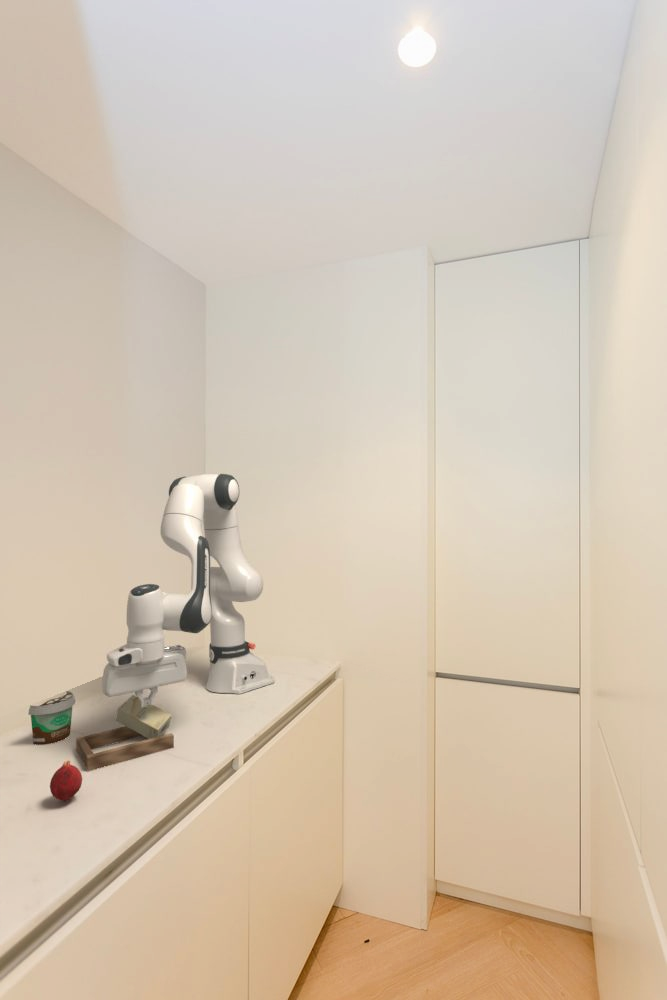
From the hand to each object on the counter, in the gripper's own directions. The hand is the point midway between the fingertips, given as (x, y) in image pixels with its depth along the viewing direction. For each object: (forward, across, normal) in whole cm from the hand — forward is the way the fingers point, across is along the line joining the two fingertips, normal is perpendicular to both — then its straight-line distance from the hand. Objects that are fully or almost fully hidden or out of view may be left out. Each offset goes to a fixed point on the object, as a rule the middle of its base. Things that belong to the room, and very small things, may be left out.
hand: (146, 706), depth 134 cm
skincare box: (+7, -4, 0) cm, 8 cm away
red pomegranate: (+9, +21, +17) cm, 29 cm away
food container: (+9, +17, -17) cm, 26 cm away
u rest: (+9, +5, 0) cm, 11 cm away
